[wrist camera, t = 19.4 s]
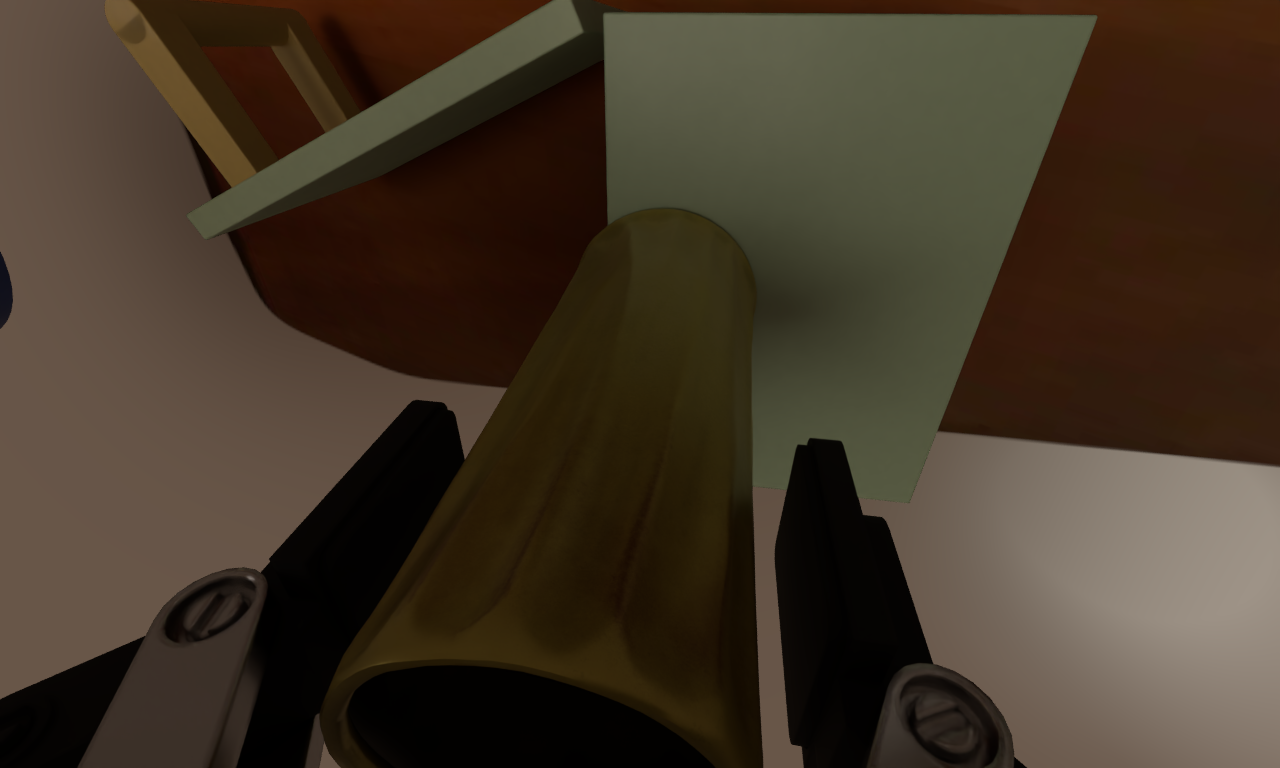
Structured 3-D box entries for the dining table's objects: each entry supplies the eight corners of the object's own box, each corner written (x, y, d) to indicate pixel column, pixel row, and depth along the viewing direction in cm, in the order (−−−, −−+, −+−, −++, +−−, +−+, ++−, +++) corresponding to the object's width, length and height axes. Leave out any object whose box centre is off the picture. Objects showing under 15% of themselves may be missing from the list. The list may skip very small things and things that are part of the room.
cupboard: (649, 341, 33) (612, 471, 23) (656, 26, 24) (602, 12, 14) (852, 357, 31) (909, 504, 21) (937, 28, 23) (1099, 14, 13)
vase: (568, 356, 20) (320, 823, 8) (585, 187, 16) (203, 556, 5) (729, 391, 20) (725, 924, 8) (780, 228, 16) (913, 723, 4)
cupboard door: (291, 33, 26) (29, 25, 17) (572, -162, 21) (435, -341, 11) (380, 176, 29) (204, 240, 20) (644, 38, 24) (584, 32, 14)
